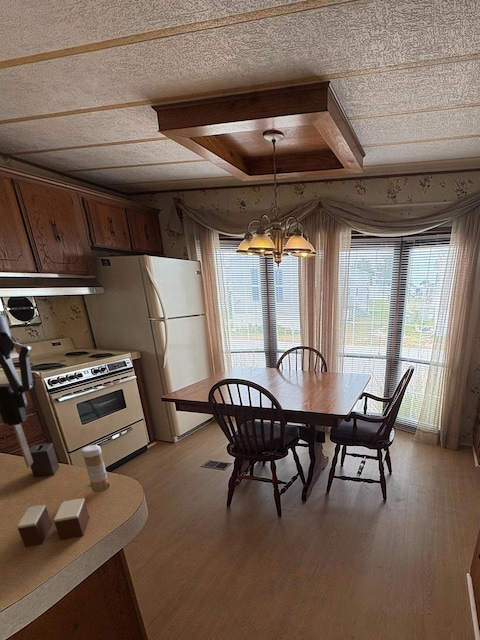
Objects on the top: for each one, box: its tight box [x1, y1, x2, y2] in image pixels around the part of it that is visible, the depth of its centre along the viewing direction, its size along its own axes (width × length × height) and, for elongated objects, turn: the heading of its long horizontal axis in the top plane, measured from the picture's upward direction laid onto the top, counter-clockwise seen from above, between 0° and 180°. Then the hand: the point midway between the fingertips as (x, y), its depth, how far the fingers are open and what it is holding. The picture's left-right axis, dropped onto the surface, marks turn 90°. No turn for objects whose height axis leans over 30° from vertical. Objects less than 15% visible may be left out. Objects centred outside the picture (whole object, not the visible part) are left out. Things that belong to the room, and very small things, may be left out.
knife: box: [0, 382, 33, 469], centre depth 79 cm, size 3×2×20 cm, turn 23°
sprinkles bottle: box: [81, 444, 110, 492], centre depth 100 cm, size 5×5×14 cm
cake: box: [53, 497, 90, 541], centre depth 84 cm, size 8×5×6 cm, turn 23°
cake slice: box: [16, 503, 53, 548], centre depth 81 cm, size 8×3×6 cm, turn 23°
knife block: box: [29, 442, 60, 479], centre depth 105 cm, size 6×5×10 cm
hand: (15, 421), depth 78 cm, fingers closed on knife, 2 cm apart
